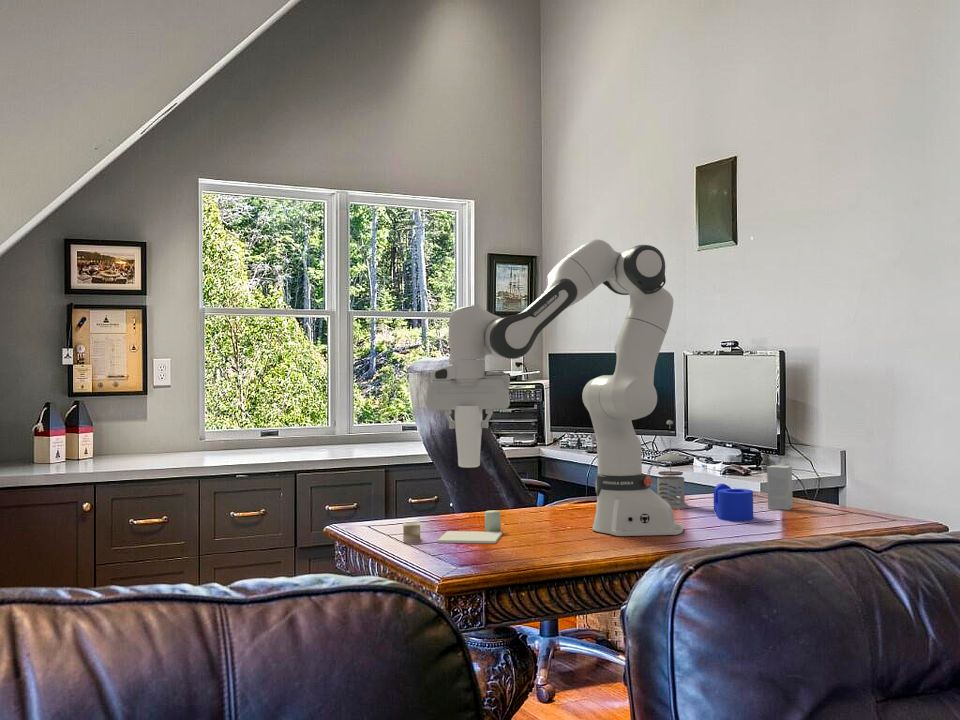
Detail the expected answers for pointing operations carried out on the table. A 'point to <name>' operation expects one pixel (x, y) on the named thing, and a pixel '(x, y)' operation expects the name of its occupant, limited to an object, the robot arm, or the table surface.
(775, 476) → the skincare box
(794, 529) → the table surface
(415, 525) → the ash block
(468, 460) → the drinking glass
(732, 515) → the bracket
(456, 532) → the cream mat
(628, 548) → the table surface
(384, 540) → the table surface
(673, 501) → the french press
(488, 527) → the sage cylinder
